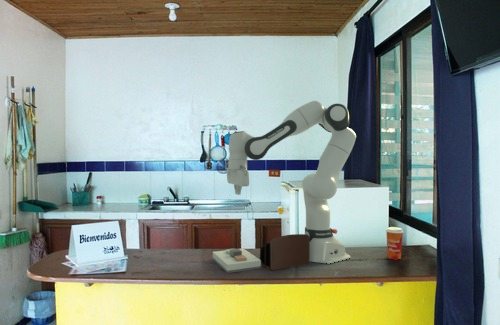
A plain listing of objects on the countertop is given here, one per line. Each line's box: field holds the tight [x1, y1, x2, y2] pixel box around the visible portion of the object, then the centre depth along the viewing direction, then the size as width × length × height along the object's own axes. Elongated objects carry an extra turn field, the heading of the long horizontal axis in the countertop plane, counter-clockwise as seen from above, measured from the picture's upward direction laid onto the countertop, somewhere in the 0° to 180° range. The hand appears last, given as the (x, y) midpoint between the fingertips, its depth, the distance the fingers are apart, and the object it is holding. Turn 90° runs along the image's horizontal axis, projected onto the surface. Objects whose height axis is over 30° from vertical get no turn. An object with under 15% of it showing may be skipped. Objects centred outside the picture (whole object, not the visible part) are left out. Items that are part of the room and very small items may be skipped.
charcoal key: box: [230, 248, 242, 258], centre depth 156 cm, size 4×4×3 cm
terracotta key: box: [234, 255, 247, 262], centre depth 151 cm, size 4×4×3 cm
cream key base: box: [212, 248, 262, 274], centre depth 156 cm, size 15×20×4 cm
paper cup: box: [385, 226, 405, 261], centre depth 165 cm, size 8×8×14 cm
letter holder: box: [259, 233, 310, 271], centre depth 156 cm, size 10×20×14 cm, turn 116°
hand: (237, 194), depth 170 cm, fingers closed
